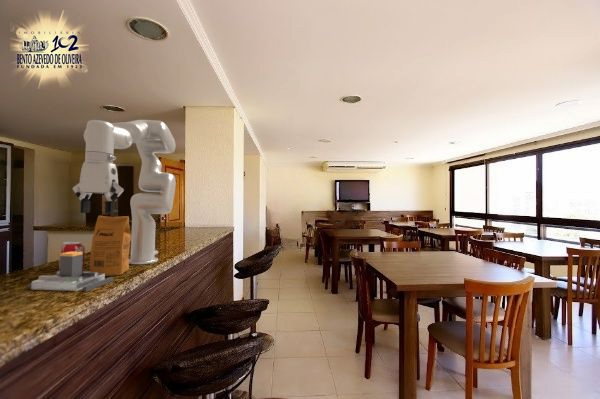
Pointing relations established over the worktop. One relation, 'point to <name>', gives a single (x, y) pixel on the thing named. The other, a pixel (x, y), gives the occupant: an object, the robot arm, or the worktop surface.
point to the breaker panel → (66, 281)
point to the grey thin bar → (97, 284)
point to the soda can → (73, 249)
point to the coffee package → (110, 246)
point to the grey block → (71, 264)
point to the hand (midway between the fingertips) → (97, 212)
